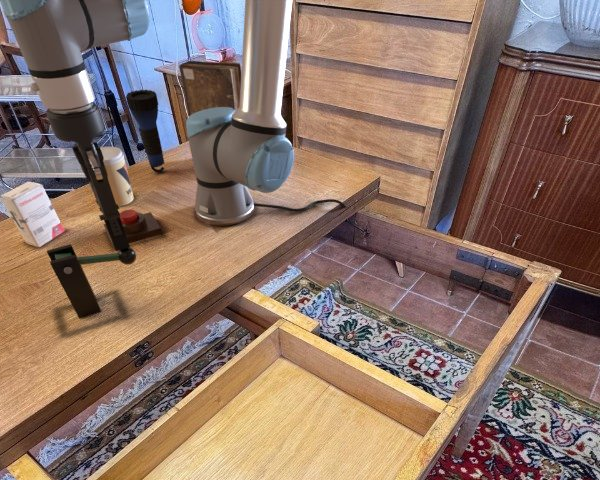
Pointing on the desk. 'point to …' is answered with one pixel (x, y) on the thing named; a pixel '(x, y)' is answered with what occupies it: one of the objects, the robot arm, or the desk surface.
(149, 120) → the flashlight
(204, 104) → the book
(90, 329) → the desk surface
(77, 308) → the bracket
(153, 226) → the button block
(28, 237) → the ink box
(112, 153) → the coffee cup
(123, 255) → the lever
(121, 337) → the desk surface
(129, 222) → the button
